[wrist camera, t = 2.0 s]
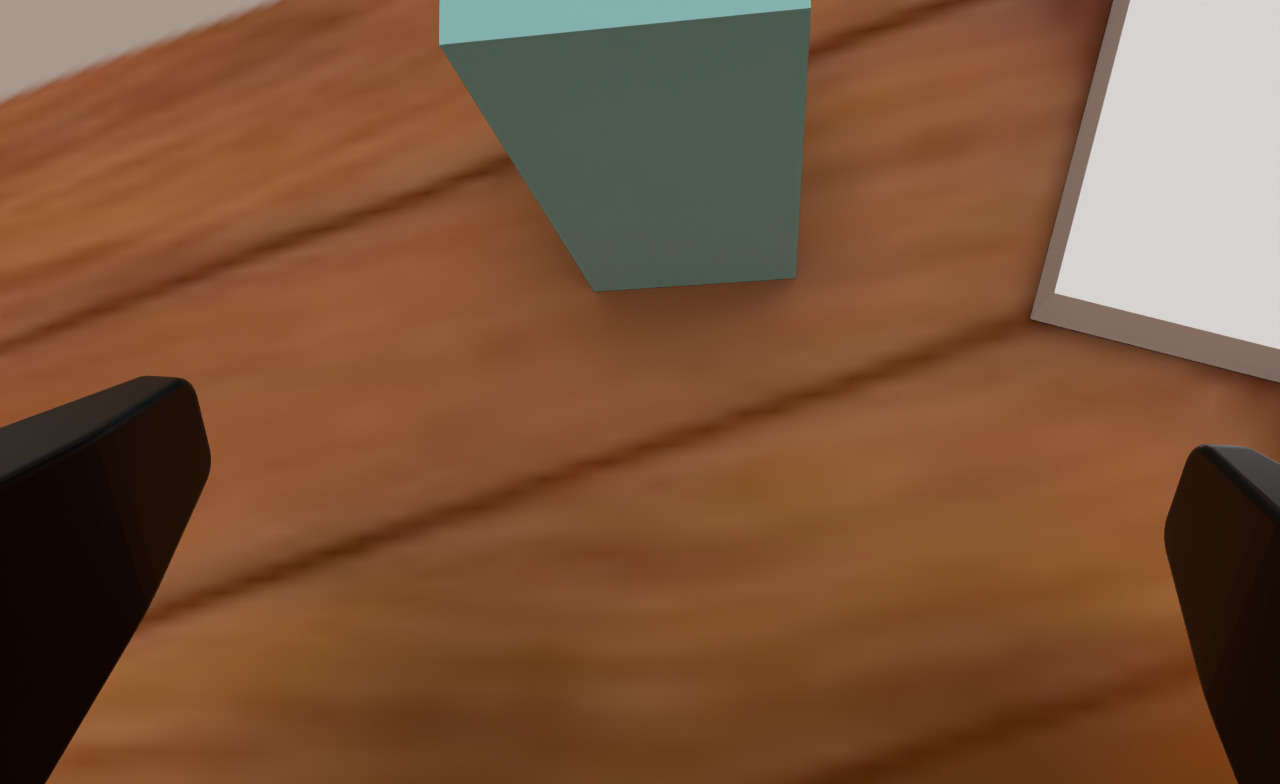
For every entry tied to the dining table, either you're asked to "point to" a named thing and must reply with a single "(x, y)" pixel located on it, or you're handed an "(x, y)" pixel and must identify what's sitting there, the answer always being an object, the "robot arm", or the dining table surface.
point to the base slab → (1176, 188)
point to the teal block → (648, 128)
